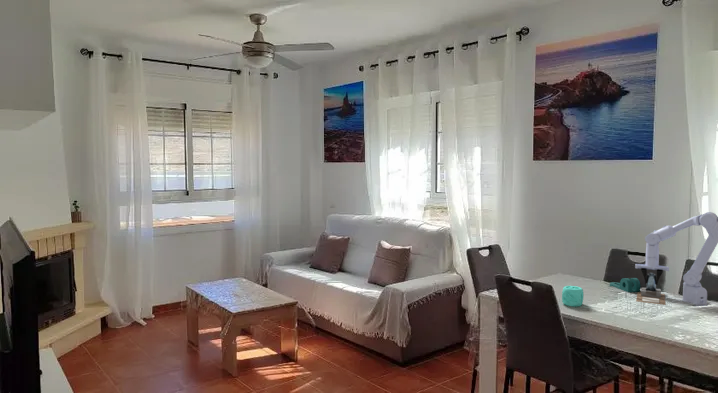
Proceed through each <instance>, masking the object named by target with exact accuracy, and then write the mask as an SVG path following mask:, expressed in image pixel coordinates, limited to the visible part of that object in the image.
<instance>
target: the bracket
mask: <svg viewBox="0 0 718 393" xmlns="http://www.w3.org/2000/svg"><path fill="white" fill-rule="evenodd" d="M609 287H614V288H616V289H619V290H620V291H623V292H625V293H637V292H641V288H642V287H641V282H640V280H639V279H638V278H637V277H631V278H628V277H627V278H626V277H625V278H621V279H620V281H619V282H616V281H615V282H614V281H613V282H612V281H611V282H609Z"/></svg>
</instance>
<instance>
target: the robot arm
mask: <svg viewBox="0 0 718 393" xmlns="http://www.w3.org/2000/svg"><path fill="white" fill-rule="evenodd" d="M691 226H698V227H700V226H702V227H703V228H704V229H705V230H706V233H707V234H708V237H707V238H706V239H705V241H704V243H703V246H702V247H701V249H700V251H699V252H698V255H697V256H696V258H695V260H694V261H693V264H692V265H691V266H690V268H689V270H687V272H685V273H684V274H683V276H682V279H683V283H682V286H683V287H682V301H683V302H685V303H688V304H693V305H692V307H703V306H704V307H705V306H706V307H707V306H709V304H708V291H707V289H706V288H705V287H703V286H702V283H701V282H700V281H701V280H702V277H703V274H702V273H703V272H704V270H705V267H706V265H707V264H708V262H709V260H710V259H711V257H712V254H713V253H714V251H715V249H716V247H717V246H718V215H717V214H716V213H715V212H712V211H707V212H704V213H702V214H698V215H694V216H692V217H689V218H688V219H685V220H684V221H681V222H679V223H677V224H675V225H670V224H669V225H662V227H661V228H659V229H655V230H653V232H650V233H648V234H647V235H645V237H644V240H645V242H646V243H645V244H646V247H645V263H643V264H642V263H635V265H634V268H635V269H637V270H638V269H639V270H640V271H641V274H642V276H643V278H644V284H646V285H647V274H648V270H653V271H656V286H658V285H659V280H660V278H661V276H662V275H663V271H666V272H670V266H666V265H665V266H664V265H660V262H659V261H660V242H663V241H666V240H668V239H670V238H673V237H675V236H676V234H677V232H679V231H683V230H684V229H687V228H690V227H691Z"/></svg>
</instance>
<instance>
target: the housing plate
mask: <svg viewBox="0 0 718 393" xmlns="http://www.w3.org/2000/svg"><path fill="white" fill-rule="evenodd" d="M635 301H636V302H637V303H644V304H647V303H648V304H654V305H664V306H666V295H665V293H662V290H661V288H656V291H647V287H643V286H642V287H641V288H640V292H636V300H635Z"/></svg>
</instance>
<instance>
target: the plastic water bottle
mask: <svg viewBox="0 0 718 393" xmlns="http://www.w3.org/2000/svg"><path fill="white" fill-rule="evenodd" d="M656 278H657V274H655V273H654V272H649V273H647V284H646V288H647V291H656V289H657V285H656Z"/></svg>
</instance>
